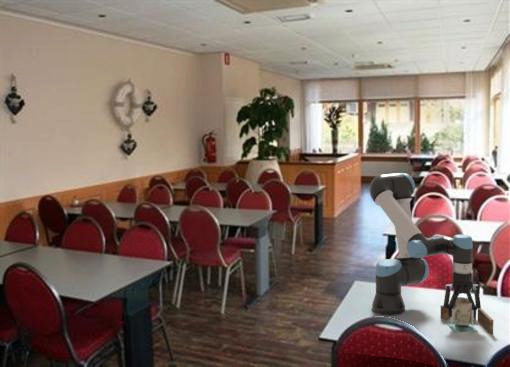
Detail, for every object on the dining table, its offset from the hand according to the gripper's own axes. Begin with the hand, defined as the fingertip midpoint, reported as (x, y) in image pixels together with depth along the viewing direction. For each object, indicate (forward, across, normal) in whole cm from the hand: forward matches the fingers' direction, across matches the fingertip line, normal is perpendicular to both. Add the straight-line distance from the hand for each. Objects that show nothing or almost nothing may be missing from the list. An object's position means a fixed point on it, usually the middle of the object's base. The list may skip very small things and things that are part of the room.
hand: (461, 323), depth 208 cm
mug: (0, -1, 0) cm, 1 cm away
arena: (+2, +2, +2) cm, 3 cm away
